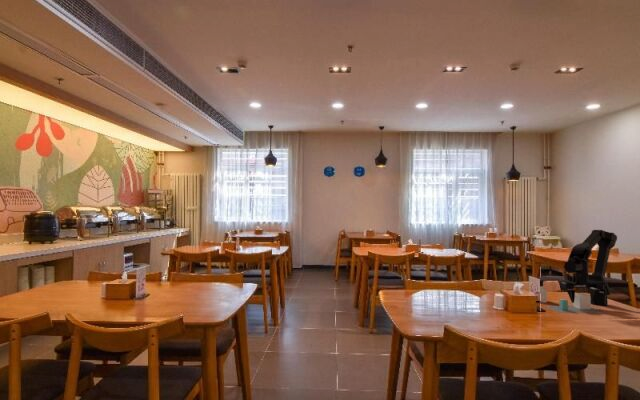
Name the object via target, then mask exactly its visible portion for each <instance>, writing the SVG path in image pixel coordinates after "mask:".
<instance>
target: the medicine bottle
mask: <svg viewBox="0 0 640 400" xmlns="http://www.w3.org/2000/svg"><path fill="white" fill-rule="evenodd" d="M538 279H539V278H538ZM539 280H540V293H541V302H540V303H547V302H548V299H547V298H548V295H547V294H548V291H547V289H545V288H544V280H543V279H539Z"/></svg>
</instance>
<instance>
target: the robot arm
mask: <svg viewBox="0 0 640 400" xmlns="http://www.w3.org/2000/svg"><path fill="white" fill-rule="evenodd" d="M617 240H618V236H617V234H615V233H614V232H609V231H606V230H602V229H592V230H591V233H590V234H589V235H588V236H587V237H586V238H585V239H584V240H583V242H580V243H578V244H576V245H574V246H573V247H572V249H571V251H570V252H569V255H568V259H567V261H565V262H564V264H563V269H564V271H565V272H567V273H568V274H565V275H564V277H563V278H564V281H561V282H560V283H559V287H560V288H562V290H565V291H566V293H567V295H568V297H569V300H570V302H571V303H572V304H574V299H575V293H576V289H575V288H587V292H588V293H589V295H590V296H591V305H593V306H597V307H610V305H609V304H608V303H609V302H608V296H611V293H612V289H611V288H610V286H609V285H608V279H607V278H606V271H607V267H608V263H609V257H610V251H611V249H612V248H614V247H615V245H616V242H617ZM596 245H598V250H597V256H596V259H595V266H594V270H593V273H591V274H590V273H589V263H591V261H590V259H589V258H590V257H591V255H592V254H593V251H592V250H593V249H594V247H595V246H596ZM569 273H570V274H572V275H570V274H569Z"/></svg>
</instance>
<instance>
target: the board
mask: <svg viewBox="0 0 640 400" xmlns="http://www.w3.org/2000/svg"><path fill="white" fill-rule="evenodd" d="M544 307H545V308H548V309H550V310H552V311H554V312H557V313H559V314H561V313H562V314H563V313H564V314H565V313H567V314H569V313H573V314H576V313H577V314H578V313H579V314H586V313H587V314H605V313H606V312H605V311H602V310H599V309H596V308H593V307H591V309H579V308H576V307H574V305H568V311H562V310H560V309H559V305H544Z"/></svg>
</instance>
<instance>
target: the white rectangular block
mask: <svg viewBox="0 0 640 400" xmlns="http://www.w3.org/2000/svg"><path fill="white" fill-rule="evenodd" d="M591 305H592V304H591V296H590V294H587V293H581V292H580V293H577V292H575V299H574V303H573V306H574V307H576V308H579V309H591V308H592V306H591Z"/></svg>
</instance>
